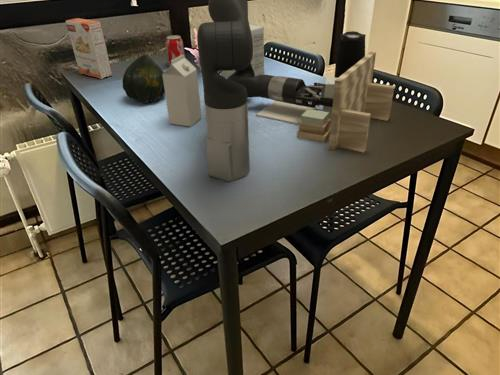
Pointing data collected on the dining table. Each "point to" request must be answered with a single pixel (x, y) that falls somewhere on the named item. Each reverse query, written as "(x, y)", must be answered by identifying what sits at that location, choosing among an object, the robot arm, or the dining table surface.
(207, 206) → the dining table surface
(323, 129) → the oak offcut
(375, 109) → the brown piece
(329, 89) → the skincare box
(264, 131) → the dining table surface
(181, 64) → the milk carton
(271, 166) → the dining table surface
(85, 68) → the cracker box
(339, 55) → the portable speaker
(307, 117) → the sage offcut
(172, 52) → the soda can
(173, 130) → the dining table surface
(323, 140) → the pine offcut
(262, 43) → the supplement box
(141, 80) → the squash
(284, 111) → the beige mat
